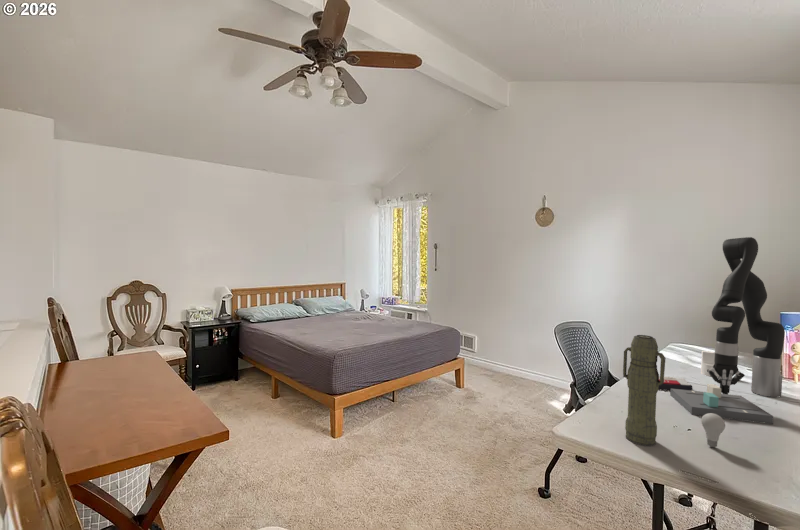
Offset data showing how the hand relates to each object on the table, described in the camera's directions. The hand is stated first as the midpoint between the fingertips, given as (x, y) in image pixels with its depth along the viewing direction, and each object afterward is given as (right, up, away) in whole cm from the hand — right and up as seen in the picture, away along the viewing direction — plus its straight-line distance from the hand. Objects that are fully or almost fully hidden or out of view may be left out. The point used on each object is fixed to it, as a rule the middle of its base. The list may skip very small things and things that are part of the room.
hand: (724, 393), depth 164 cm
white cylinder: (+28, -4, +42) cm, 50 cm away
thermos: (-56, -5, -34) cm, 66 cm away
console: (-7, -5, -4) cm, 9 cm away
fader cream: (-3, -1, +1) cm, 4 cm away
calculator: (-9, -4, +20) cm, 23 cm away
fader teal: (-13, -1, -9) cm, 16 cm away
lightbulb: (-35, -5, -38) cm, 52 cm away
